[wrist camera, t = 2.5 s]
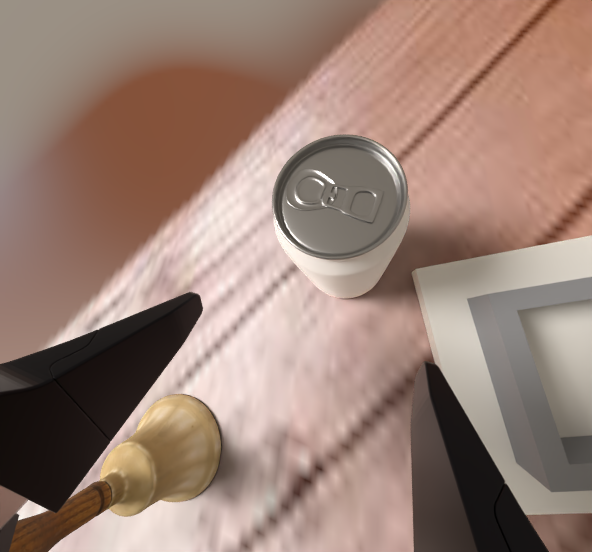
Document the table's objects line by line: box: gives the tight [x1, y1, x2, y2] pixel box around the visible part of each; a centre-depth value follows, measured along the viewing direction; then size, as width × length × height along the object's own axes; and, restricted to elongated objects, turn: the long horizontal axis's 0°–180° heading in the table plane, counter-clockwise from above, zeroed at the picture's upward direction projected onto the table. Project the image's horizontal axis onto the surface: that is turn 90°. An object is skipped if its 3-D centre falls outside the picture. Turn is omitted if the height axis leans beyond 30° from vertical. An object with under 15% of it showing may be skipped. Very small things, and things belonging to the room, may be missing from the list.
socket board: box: [412, 236, 592, 515], centre depth 16 cm, size 16×16×4 cm
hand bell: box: [9, 394, 221, 552], centre depth 15 cm, size 8×8×16 cm
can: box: [272, 135, 410, 298], centre depth 17 cm, size 6×6×12 cm
